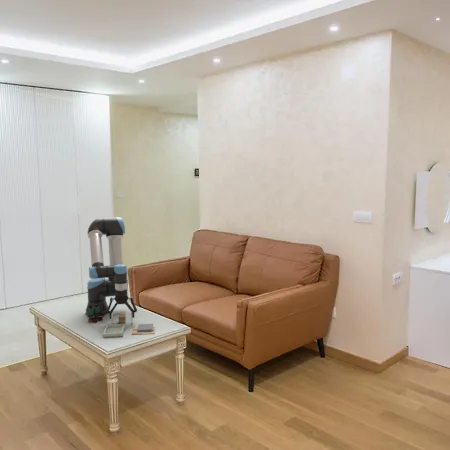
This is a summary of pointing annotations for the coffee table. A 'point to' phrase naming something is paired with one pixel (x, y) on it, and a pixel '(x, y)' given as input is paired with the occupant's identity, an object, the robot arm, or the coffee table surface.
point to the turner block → (122, 318)
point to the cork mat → (142, 332)
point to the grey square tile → (144, 327)
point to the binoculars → (94, 313)
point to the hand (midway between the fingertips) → (122, 323)
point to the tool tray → (114, 330)
